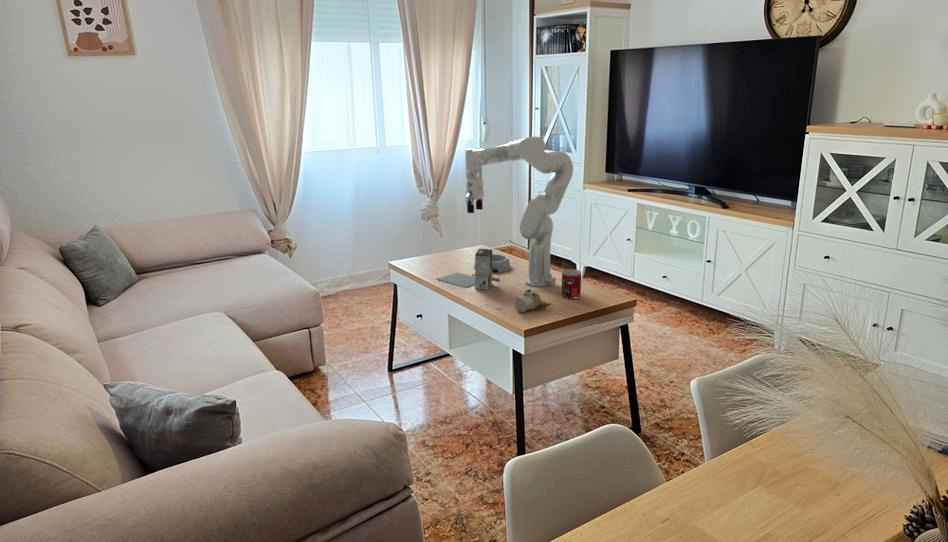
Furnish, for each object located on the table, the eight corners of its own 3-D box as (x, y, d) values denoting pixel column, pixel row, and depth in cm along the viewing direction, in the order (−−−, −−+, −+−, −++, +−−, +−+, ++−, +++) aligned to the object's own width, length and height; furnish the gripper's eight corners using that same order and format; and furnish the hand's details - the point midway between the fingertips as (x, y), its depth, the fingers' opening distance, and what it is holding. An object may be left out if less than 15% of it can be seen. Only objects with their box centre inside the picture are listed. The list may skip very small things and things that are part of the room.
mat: (486, 280, 285) (486, 280, 285) (465, 287, 276) (465, 287, 276) (458, 273, 298) (458, 272, 298) (436, 279, 289) (436, 278, 289)
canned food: (558, 295, 265) (558, 270, 262) (574, 292, 268) (575, 268, 265) (567, 300, 258) (568, 275, 255) (583, 298, 261) (584, 273, 258)
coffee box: (478, 282, 282) (478, 248, 278) (492, 283, 281) (493, 249, 276) (474, 288, 274) (474, 253, 269) (488, 289, 273) (489, 254, 268)
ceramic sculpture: (507, 288, 246) (535, 283, 255) (506, 309, 248) (534, 303, 257) (524, 295, 238) (553, 290, 247) (523, 317, 240) (551, 311, 249)
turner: (501, 279, 287) (501, 276, 287) (494, 281, 284) (494, 279, 284) (478, 273, 297) (478, 271, 297) (471, 275, 294) (471, 273, 294)
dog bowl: (474, 263, 316) (474, 253, 314) (510, 263, 315) (510, 253, 313) (473, 273, 299) (472, 262, 298) (511, 273, 298) (511, 262, 297)
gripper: (473, 177, 280) (474, 214, 285) (488, 172, 295) (489, 208, 300) (458, 177, 283) (460, 213, 288) (474, 172, 298) (475, 207, 303)
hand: (475, 211), depth 294 cm, fingers open, 9 cm apart
